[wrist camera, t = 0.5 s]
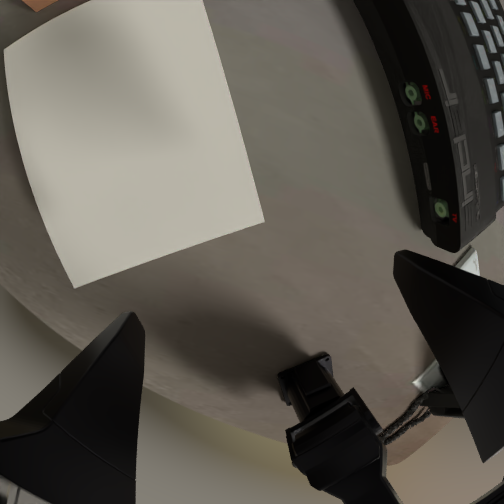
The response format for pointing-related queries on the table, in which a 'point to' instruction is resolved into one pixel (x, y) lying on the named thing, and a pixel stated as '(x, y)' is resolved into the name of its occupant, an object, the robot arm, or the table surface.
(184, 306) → the table surface
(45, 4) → the block
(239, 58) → the table surface
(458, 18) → the computer keyboard
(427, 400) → the office phone
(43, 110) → the slab
